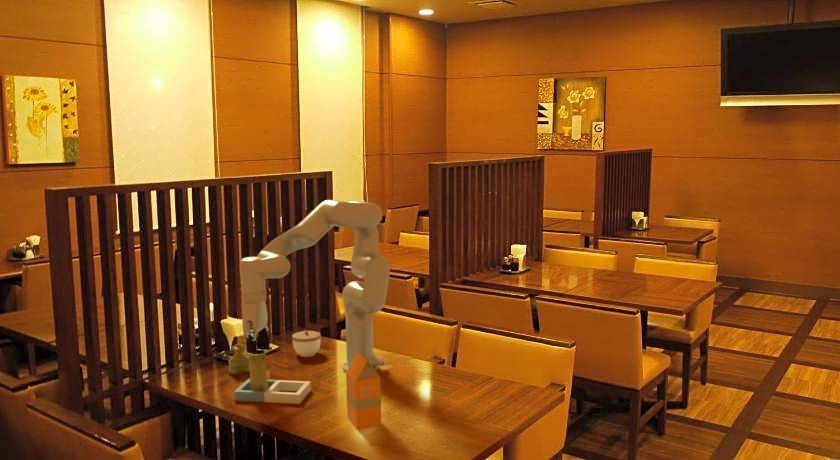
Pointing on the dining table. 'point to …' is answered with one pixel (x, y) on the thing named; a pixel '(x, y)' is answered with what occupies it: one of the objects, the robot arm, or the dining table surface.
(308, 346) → the lidded jar
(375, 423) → the orange juice
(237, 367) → the olive bulbous piece
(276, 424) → the dining table surface
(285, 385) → the pocket rack
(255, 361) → the vase
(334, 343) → the dining table surface
